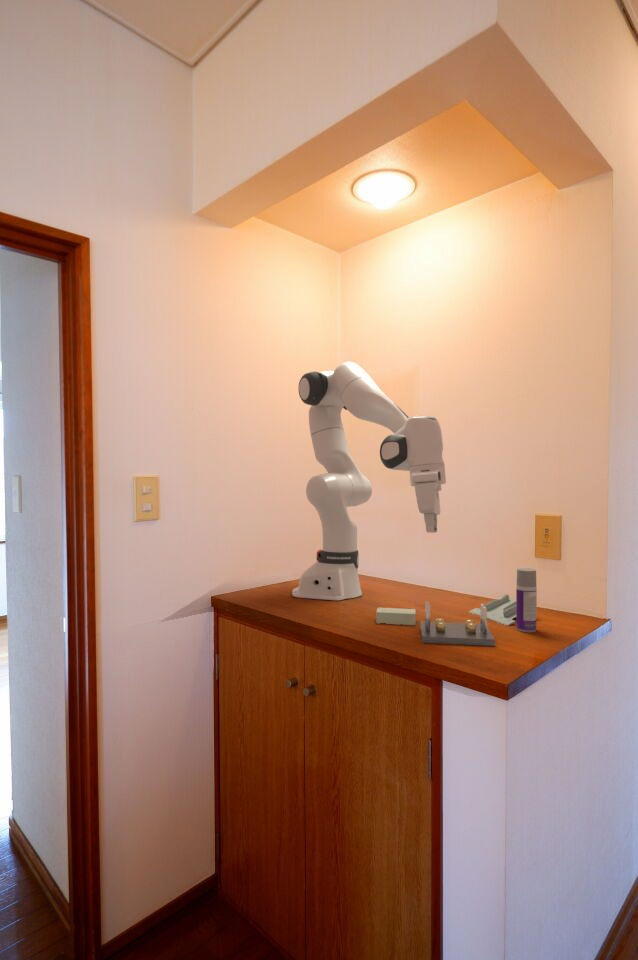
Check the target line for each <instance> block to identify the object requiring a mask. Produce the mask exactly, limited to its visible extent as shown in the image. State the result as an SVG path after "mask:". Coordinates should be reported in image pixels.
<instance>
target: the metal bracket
mask: <svg viewBox="0 0 638 960" xmlns="http://www.w3.org/2000/svg"><path fill="white" fill-rule="evenodd" d="M484 604H485V607H487V620H489V619H490V621H492V622H495V621H496V622H495V623H498V624H499V623H501V624H500V625H502V624H504V625H503V626H505V625H507V626H506V627H509V626H511V625H513V624H514V623H515V624H516V619H515V618H516V599H514V598H510V596H509V594H504V595H503V596H502V597H501V598H498V599H497V598H496V599H494V600H491V601H489V602H487V603H484ZM468 613H470V614H471V613H472V615H474V614H476V615H475V616H478V615H479V616H478V617H480V608H479V607H475V608H473V609H471V610H469V611H468ZM514 619H515V620H514Z"/></svg>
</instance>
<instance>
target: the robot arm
mask: <svg viewBox="0 0 638 960" xmlns="http://www.w3.org/2000/svg"><path fill="white" fill-rule="evenodd" d="M298 395H299V398H300V399H301V401H302V402H303V403H304V404H305V405H309V406H310V407H309V410H308V425H309V432H310V438H311V442H312V447H313V451H314V456H315V459H316V461H317V462H318V463H319V464H320V465H321V466H323V467H324V469H325V470H326V472H327V473H326V472H325V473H321V474H317V475H315V476H312V477H311V478H310V479H309V480H308V482H307V483H306V488H305V493H306V494H305V495H306V498H307V500H308V501H309V504H311V505H312V506H313V507H314V508H315V510H316V512H317V514H318V516H319V519H320V523H321V529H322V531H321V532H322V549H318V550H317V551H316V562H315V563H314V564H312V565H311V566H309V567H308V568H307V569H306V570H305V571H303V573H302V574H301V576H300V577H299V582H298V586H297V587H294V588H293V589H292V590H291V595H292V596H293V597H295V598H301V599H302V598H303V599H315V600H328V601H329V600H330V601H343V600H345V599H353V598H358V597H360V596H362V595H363V592H362V589H361V584H360V578H359V569H358V568H359V566H360V559H359V558H360V554H359V550H358V527H357V525H356V523H355V522H354V521H352V519H351V518H350V515H349V512H348V507H357V506H360V505H362V504H365V503H367V502H368V501H369V500H370V498H371V496H372V493H373V488H372V487H373V485H372V483H371V481H370V480H369V478H367V477H366V476H365V475H364V474H363V473H362V471H361V470H360V469H359V467H358V465H356V462H355V460H354V459H353V457H352V455H351V453H350V449H349V446H348V441H347V437H346V433H345V428H344V426H343V420H342V417H341V416H342V414H341V413H342V410H346V411H347V412H349V413H350V414H352V416H354V417H355V418H357V419H359V420H362V421H365V422H369V423H373V424H375V425H376V424H377V425H380V426H382V427H384V428H387V429H388V430H390V431H391V432H392V433H393V434H390V435H387V436H386V437H385V438H384V439H383V441H382V442H381V443H380V447H379V458H380V461H381V464H383V466H384V467H385V468H387V469H390V470H395V471H407V472H409V479H410V480H409V481H410V482H409V483H410V486H411V487H414V491H415V497H416V503H417V504H416V505H417V508H418V511H419V513H420V514H422V515H423V519H424V523H425V532H426V533H428V534H429V533H432V534H433V533H437V532H438V516H439V515H441V503H440V501H441V500H440V494H439V492H440V491H442V485H444V484H445V485H446V483H447V478H446V467H445V466H446V465H445V462H444V459H443V450H444V444H443V443H444V442H443V435H442V430H441V425H440V423H439V420H438V419H437V418H436V417H433V416H427V415H413V416H411V417H409V416H408V414H407V413H405V412H404V411H403V409H402V408H400V407H399V405H397V404H396V403H395V402H393V401H392V399H391V398H389V397H388V396H387V395H386V394H385V393H384V391H382V390H381V388H380V387H379V386H378V385H377V384H376V383H375V381H374V380H373V379H372V377H371V376H370V375H369V374H368V373H367V372H366V371H365V370H364V369H363V367H361V366H359V365H358V364H357V363H356V362H352V361H345V362H343V363H341V364H339V365H337V367H336V368H335V369H334V370H328V371H327V370H325V371H310V372H307V373H304V374H303V375H302V376H301V378H300V380H299V382H298Z"/></svg>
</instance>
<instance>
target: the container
mask: <svg viewBox="0 0 638 960" xmlns="http://www.w3.org/2000/svg"><path fill="white" fill-rule="evenodd" d="M515 585H516V587H515V588H516V591H515V593H516V594H515V595H516V597H515V598H516V599H515V600H516V617H515V618H516V619H515V621H516V622H515V624H516V625H515V627H516V628H515V629H516V630H517V631H518V630H519V632H521V631H522V632H523V633H536V632H537V606H538V605H537V603H538V602H537V569H536V568H530V567H519V568H517V569H516V584H515Z"/></svg>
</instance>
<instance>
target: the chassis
mask: <svg viewBox="0 0 638 960" xmlns="http://www.w3.org/2000/svg"><path fill="white" fill-rule="evenodd" d="M424 604H425V605H424V615H425V616H424V617H425V618H424V620H423V621H421V620H420V622H419V630H420V635H421V641H422V644H434V643H435V644H438V645H458V646H459V645H461V646H482V647H484V646H485V647H495V646H496V638H495V637H494V634H492V631H490V629H489V627H488V619H487V607H485V604H486V603H480V608H479V609H480V616H479V617H480V619H479V620H480V623H478V622H477V623H476V622H475V620H474V619H471V618H468V619H465V621H464V622H453V621H452V622H447V621H445V618H442V617H437V618H435V621H431V604H430V601H425V602H424Z"/></svg>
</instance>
